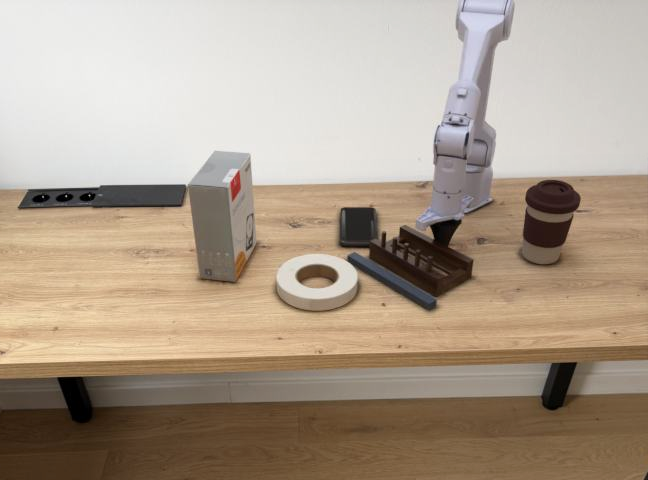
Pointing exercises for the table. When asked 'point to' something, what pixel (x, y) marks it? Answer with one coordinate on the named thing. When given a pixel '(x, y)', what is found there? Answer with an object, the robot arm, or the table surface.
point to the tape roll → (317, 297)
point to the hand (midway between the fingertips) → (440, 249)
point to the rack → (426, 251)
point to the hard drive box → (223, 215)
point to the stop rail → (392, 281)
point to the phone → (357, 226)
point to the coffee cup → (548, 220)
